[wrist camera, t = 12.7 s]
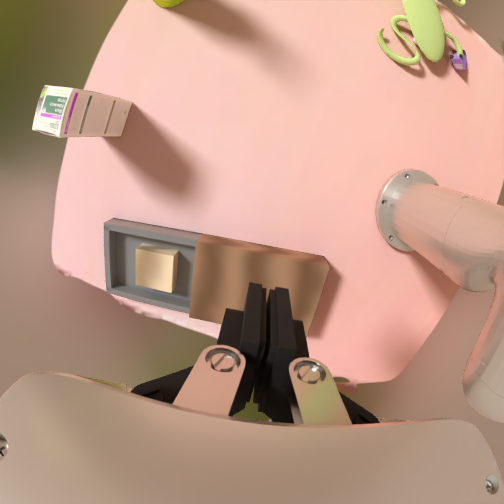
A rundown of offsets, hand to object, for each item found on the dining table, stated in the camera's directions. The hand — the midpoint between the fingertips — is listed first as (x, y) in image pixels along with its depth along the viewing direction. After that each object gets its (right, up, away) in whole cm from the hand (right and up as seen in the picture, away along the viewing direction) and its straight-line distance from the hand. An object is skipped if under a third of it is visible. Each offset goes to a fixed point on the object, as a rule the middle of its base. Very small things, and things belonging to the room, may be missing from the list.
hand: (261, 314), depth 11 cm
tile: (-15, 0, +26) cm, 30 cm away
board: (0, -2, +30) cm, 30 cm away
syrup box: (-21, +23, +22) cm, 38 cm away
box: (-16, +1, +29) cm, 33 cm away
